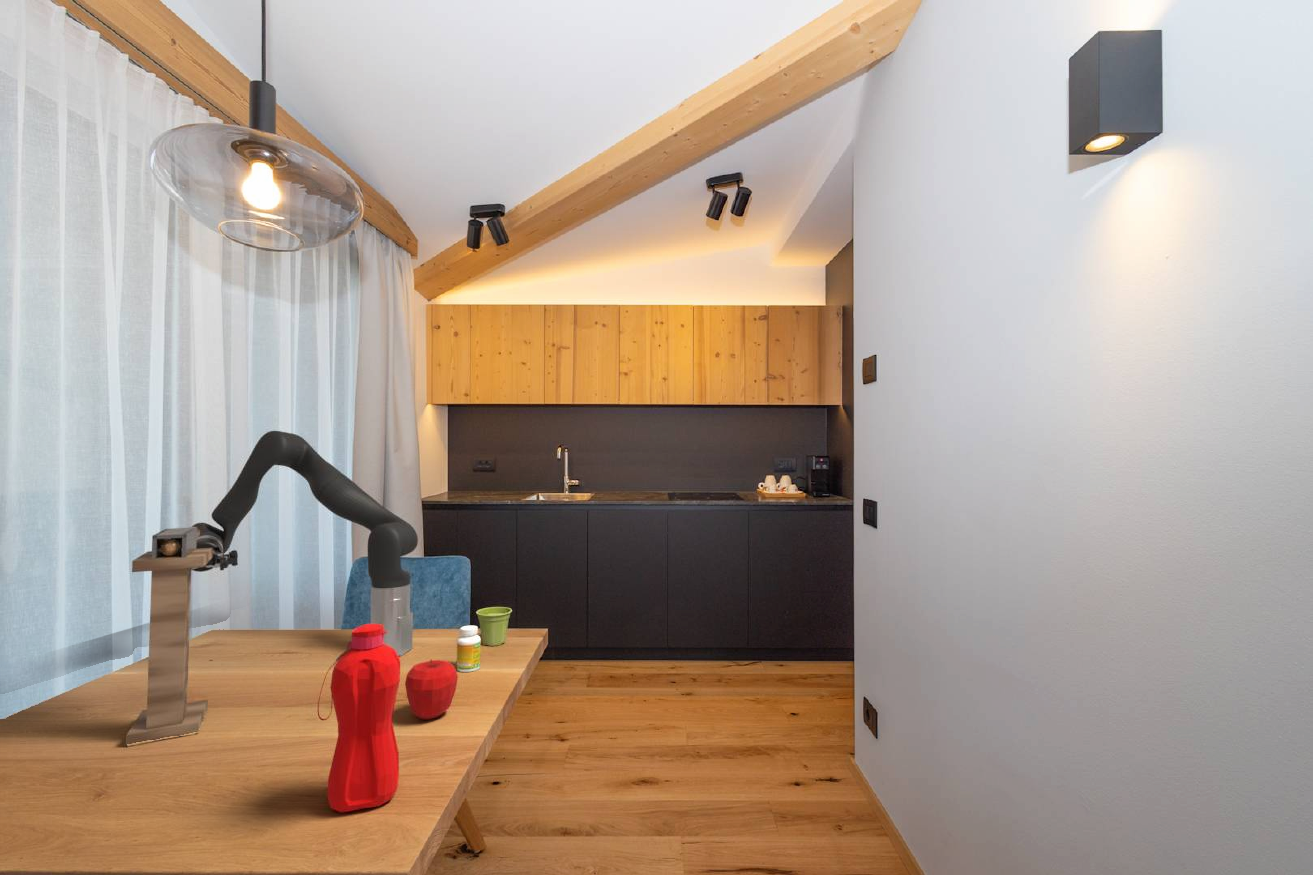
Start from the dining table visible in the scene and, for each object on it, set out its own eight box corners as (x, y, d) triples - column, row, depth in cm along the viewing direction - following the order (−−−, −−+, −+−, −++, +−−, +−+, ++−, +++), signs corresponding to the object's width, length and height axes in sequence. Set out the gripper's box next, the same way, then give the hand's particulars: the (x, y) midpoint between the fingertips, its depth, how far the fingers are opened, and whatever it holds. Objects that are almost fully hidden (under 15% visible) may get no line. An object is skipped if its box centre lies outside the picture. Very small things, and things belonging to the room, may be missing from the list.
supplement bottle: (476, 672, 139) (476, 630, 140) (453, 672, 140) (453, 630, 140) (483, 664, 145) (483, 624, 145) (461, 664, 145) (461, 624, 145)
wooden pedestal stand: (142, 720, 113) (148, 551, 114) (207, 709, 118) (212, 547, 120) (125, 747, 103) (132, 560, 104) (198, 733, 108) (203, 556, 109)
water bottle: (321, 788, 90) (325, 621, 91) (399, 775, 94) (402, 615, 95) (309, 823, 82) (313, 638, 83) (396, 807, 86) (399, 631, 86)
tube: (183, 540, 127) (184, 526, 128) (200, 539, 129) (200, 526, 129) (160, 555, 107) (160, 540, 107) (179, 554, 108) (180, 539, 108)
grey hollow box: (165, 550, 116) (166, 528, 116) (196, 548, 118) (196, 527, 118) (151, 559, 105) (152, 535, 106) (185, 557, 108) (186, 534, 108)
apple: (439, 729, 110) (440, 669, 111) (393, 724, 112) (394, 665, 113) (466, 707, 120) (467, 652, 120) (423, 703, 122) (424, 649, 122)
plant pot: (473, 640, 164) (473, 608, 165) (508, 636, 168) (508, 605, 169) (478, 650, 156) (479, 616, 156) (514, 645, 160) (515, 612, 160)
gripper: (167, 540, 145) (158, 554, 131) (239, 535, 152) (237, 548, 139) (167, 570, 145) (158, 588, 131) (238, 564, 153) (236, 580, 139)
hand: (198, 568), depth 135 cm, fingers open, 8 cm apart
